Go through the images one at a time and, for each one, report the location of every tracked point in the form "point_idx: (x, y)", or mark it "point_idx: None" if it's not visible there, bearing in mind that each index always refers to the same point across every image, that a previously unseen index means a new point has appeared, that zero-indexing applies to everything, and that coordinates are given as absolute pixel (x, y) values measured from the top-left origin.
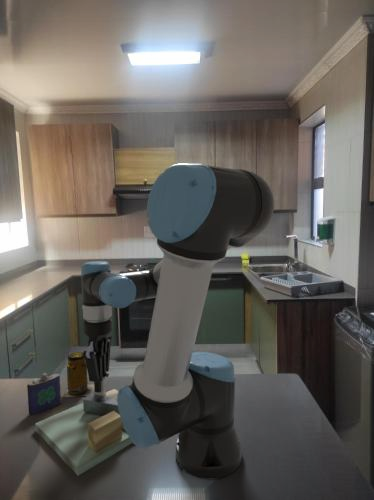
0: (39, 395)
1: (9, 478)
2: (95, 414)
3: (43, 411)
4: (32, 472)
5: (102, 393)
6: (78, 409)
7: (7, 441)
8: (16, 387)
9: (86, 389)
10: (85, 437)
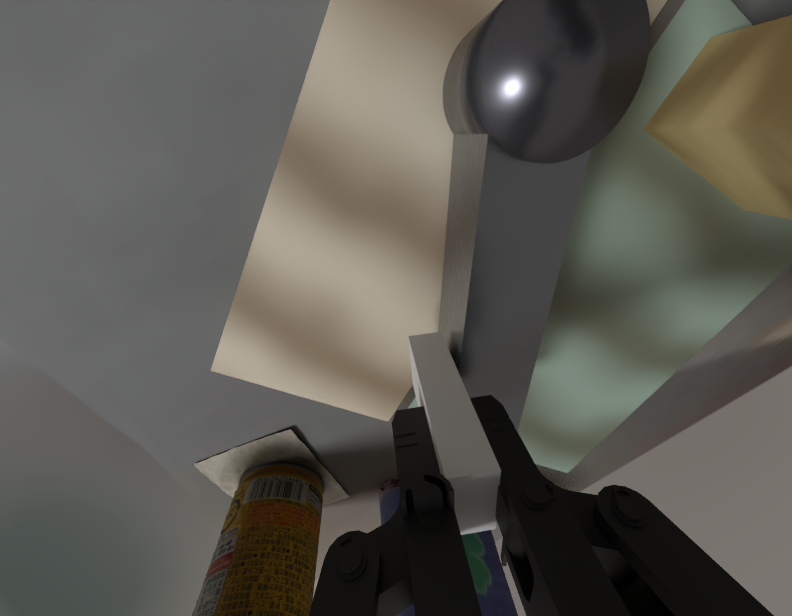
0: (486, 570)
1: (764, 373)
2: None
3: None
4: (756, 335)
5: (457, 378)
6: None
7: (602, 473)
8: None
9: (264, 470)
10: (673, 263)
